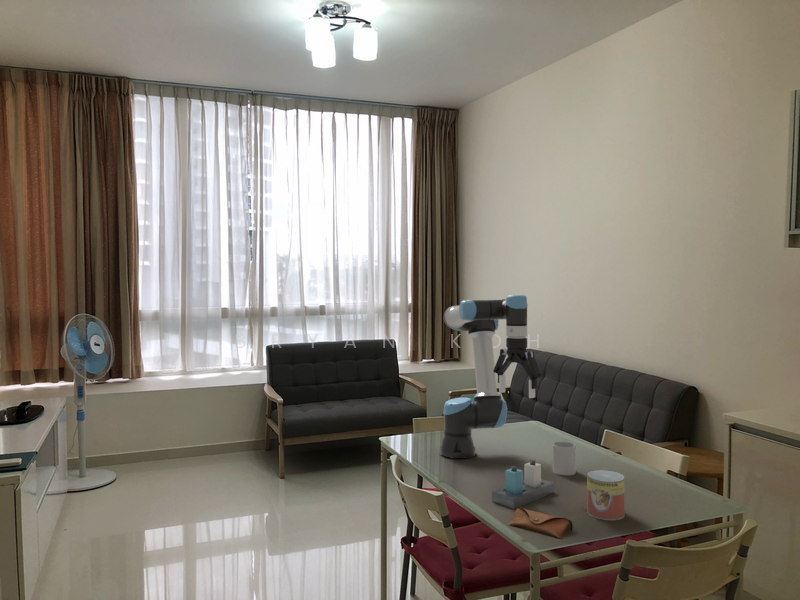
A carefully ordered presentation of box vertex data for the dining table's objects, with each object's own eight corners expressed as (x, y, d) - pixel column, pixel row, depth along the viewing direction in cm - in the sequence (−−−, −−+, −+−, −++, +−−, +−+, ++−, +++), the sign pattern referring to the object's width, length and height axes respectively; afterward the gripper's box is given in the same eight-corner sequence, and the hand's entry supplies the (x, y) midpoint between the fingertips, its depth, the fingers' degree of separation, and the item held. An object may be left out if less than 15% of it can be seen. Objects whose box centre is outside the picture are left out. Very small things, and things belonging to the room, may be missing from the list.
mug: (579, 475, 223) (579, 446, 223) (558, 477, 222) (558, 448, 221) (565, 465, 235) (565, 438, 235) (545, 467, 234) (545, 439, 233)
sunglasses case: (504, 524, 179) (509, 502, 181) (513, 529, 184) (518, 507, 186) (562, 539, 168) (567, 515, 171) (570, 544, 173) (574, 521, 176)
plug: (505, 500, 197) (505, 466, 197) (513, 497, 200) (513, 464, 200) (515, 503, 194) (515, 469, 194) (522, 500, 197) (522, 467, 197)
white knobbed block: (524, 493, 204) (524, 460, 203) (531, 490, 206) (531, 458, 206) (534, 496, 201) (533, 463, 200) (541, 493, 203) (541, 461, 203)
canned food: (582, 515, 186) (582, 477, 185) (592, 504, 195) (592, 467, 195) (619, 523, 179) (619, 484, 179) (628, 511, 189) (628, 473, 188)
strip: (513, 510, 190) (513, 498, 190) (492, 502, 197) (491, 491, 196) (554, 494, 204) (554, 482, 204) (532, 487, 211) (532, 476, 211)
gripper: (484, 335, 224) (484, 391, 225) (538, 340, 205) (538, 401, 206) (497, 334, 229) (497, 389, 229) (551, 338, 210) (551, 398, 210)
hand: (516, 395), depth 218 cm, fingers open, 13 cm apart
